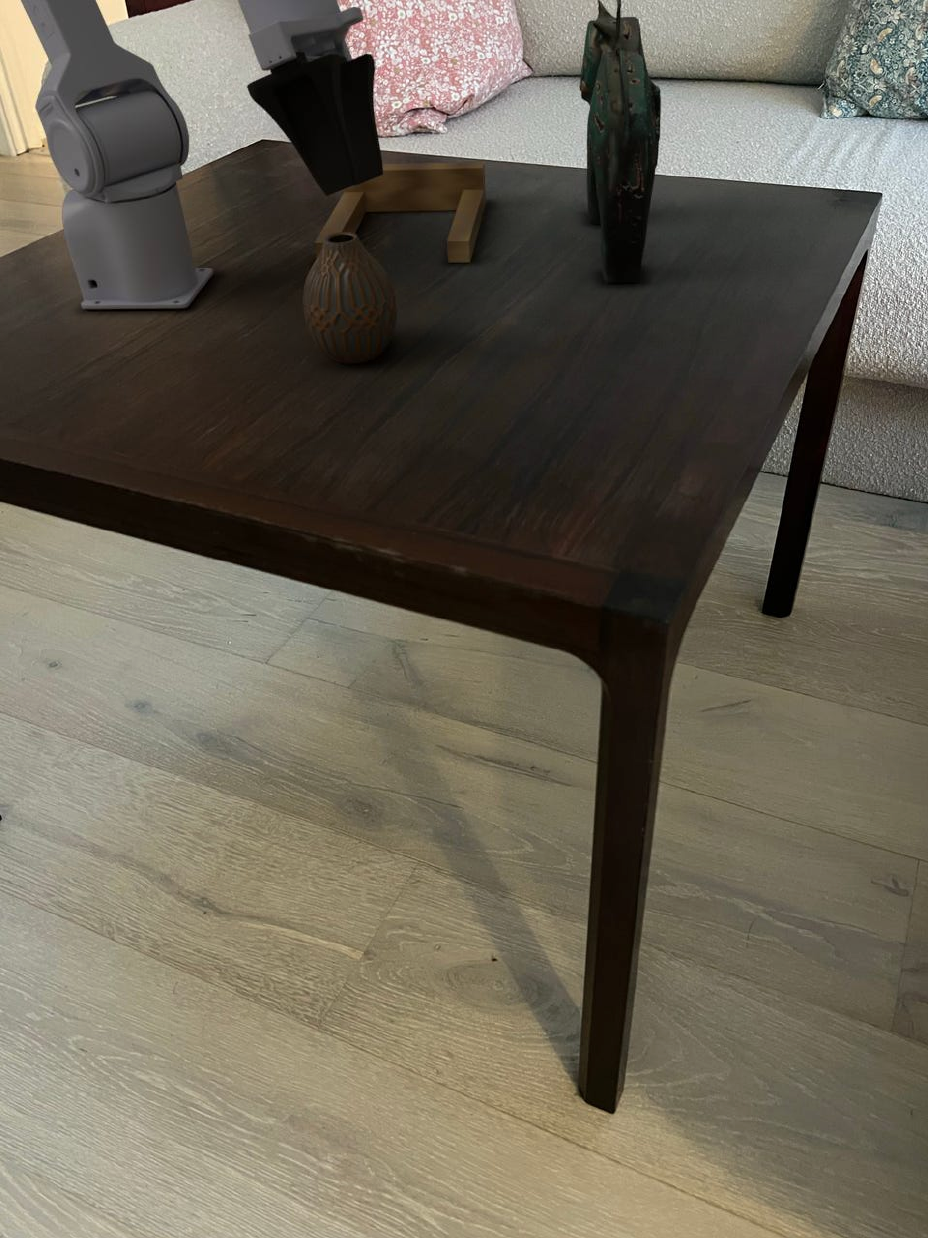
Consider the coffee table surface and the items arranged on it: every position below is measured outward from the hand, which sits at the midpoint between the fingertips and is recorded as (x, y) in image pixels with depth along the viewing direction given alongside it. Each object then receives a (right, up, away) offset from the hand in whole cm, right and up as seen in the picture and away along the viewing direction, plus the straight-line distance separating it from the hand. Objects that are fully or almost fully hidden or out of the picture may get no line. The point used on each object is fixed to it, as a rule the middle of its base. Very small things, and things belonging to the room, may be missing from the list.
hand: (356, 184), depth 67 cm
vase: (-1, -8, +11) cm, 14 cm away
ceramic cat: (+21, +5, +26) cm, 34 cm away
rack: (+1, +8, +30) cm, 31 cm away
